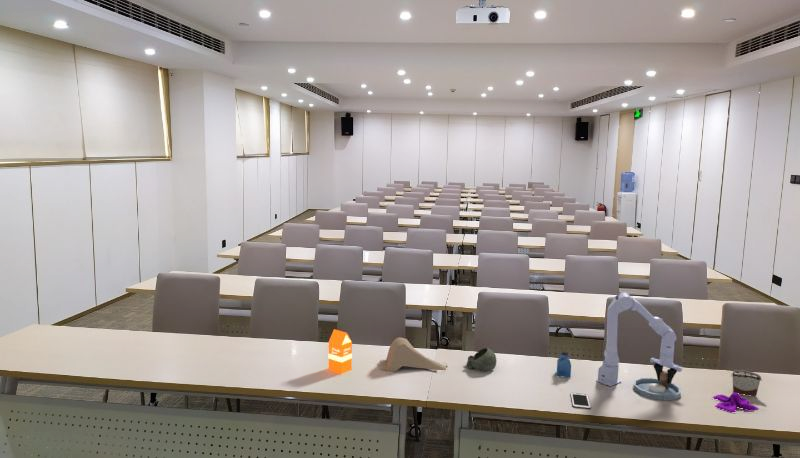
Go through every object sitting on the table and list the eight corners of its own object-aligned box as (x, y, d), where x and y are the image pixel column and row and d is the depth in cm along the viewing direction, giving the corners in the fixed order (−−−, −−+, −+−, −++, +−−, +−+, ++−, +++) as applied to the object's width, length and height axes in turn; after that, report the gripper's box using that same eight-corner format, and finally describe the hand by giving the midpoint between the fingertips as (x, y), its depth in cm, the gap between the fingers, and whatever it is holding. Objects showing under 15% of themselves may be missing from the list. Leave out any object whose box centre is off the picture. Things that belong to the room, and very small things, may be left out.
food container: (756, 392, 269) (758, 371, 268) (759, 397, 264) (762, 376, 262) (726, 388, 273) (729, 368, 272) (729, 393, 267) (731, 372, 266)
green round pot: (466, 361, 300) (467, 343, 299) (495, 363, 298) (496, 345, 297) (466, 372, 286) (467, 353, 284) (496, 374, 284) (497, 355, 282)
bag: (376, 378, 285) (446, 379, 281) (374, 346, 281) (445, 347, 276) (382, 360, 304) (448, 361, 299) (380, 330, 300) (447, 331, 295)
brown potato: (666, 387, 269) (667, 375, 268) (657, 384, 272) (658, 372, 271) (671, 385, 271) (672, 373, 270) (662, 382, 275) (663, 370, 274)
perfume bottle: (570, 377, 282) (571, 354, 280) (557, 376, 283) (558, 353, 281) (569, 373, 288) (570, 350, 286) (556, 371, 289) (558, 349, 287)
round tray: (665, 403, 254) (666, 399, 254) (625, 388, 270) (625, 383, 270) (688, 393, 266) (689, 388, 266) (648, 379, 282) (648, 374, 282)
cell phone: (572, 408, 249) (572, 406, 249) (570, 394, 263) (570, 392, 263) (591, 410, 247) (591, 408, 247) (587, 396, 261) (587, 394, 261)
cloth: (718, 413, 247) (719, 399, 246) (703, 395, 265) (705, 382, 265) (774, 419, 243) (776, 405, 243) (756, 400, 261) (757, 387, 261)
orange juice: (338, 365, 290) (339, 327, 288) (351, 369, 285) (352, 330, 283) (328, 370, 284) (328, 331, 281) (341, 374, 279) (341, 334, 276)
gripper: (686, 356, 266) (683, 384, 268) (656, 347, 278) (654, 374, 279) (678, 359, 262) (675, 388, 264) (648, 350, 273) (646, 377, 275)
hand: (664, 381), depth 271 cm, fingers closed on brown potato, 4 cm apart
